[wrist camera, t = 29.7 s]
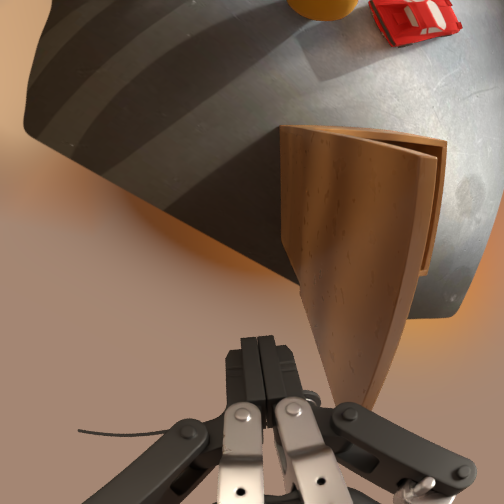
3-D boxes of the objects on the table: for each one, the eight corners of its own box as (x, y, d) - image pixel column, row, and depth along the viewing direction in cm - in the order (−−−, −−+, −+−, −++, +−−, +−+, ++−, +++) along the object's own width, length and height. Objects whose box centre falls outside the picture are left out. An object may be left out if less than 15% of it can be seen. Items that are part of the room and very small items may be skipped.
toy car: (457, 37, 31) (474, 34, 26) (384, 51, 33) (401, 46, 29) (437, -3, 27) (454, -9, 23) (360, 4, 29) (374, -6, 25)
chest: (389, 130, 39) (447, 141, 26) (381, 234, 47) (426, 275, 34) (279, 125, 38) (305, 128, 25) (281, 241, 45) (302, 291, 33)
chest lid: (438, 157, 8) (419, 155, 8) (357, 439, 16) (345, 441, 16) (311, 128, 25) (302, 128, 25) (307, 293, 32) (299, 293, 32)
